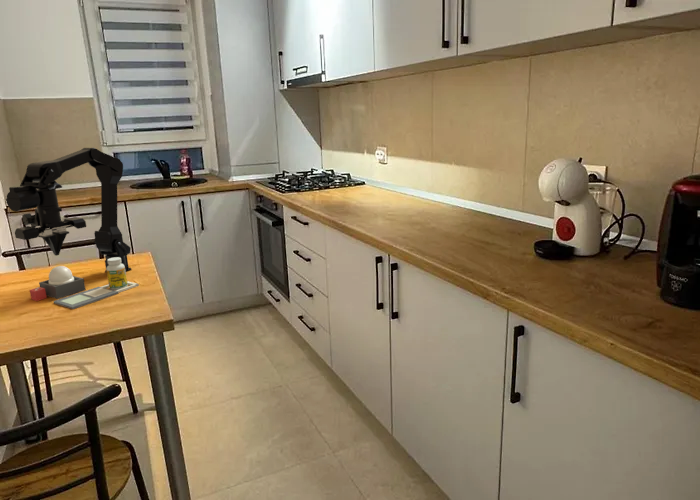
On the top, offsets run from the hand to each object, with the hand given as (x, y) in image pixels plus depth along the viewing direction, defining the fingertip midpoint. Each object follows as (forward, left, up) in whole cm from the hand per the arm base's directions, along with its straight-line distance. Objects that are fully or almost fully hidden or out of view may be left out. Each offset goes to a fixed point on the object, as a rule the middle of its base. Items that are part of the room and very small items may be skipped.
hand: (56, 255), depth 157 cm
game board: (-4, +12, -12) cm, 17 cm away
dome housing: (+2, 0, -12) cm, 12 cm away
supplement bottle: (-11, +12, -12) cm, 20 cm away
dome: (0, 0, -10) cm, 10 cm away
